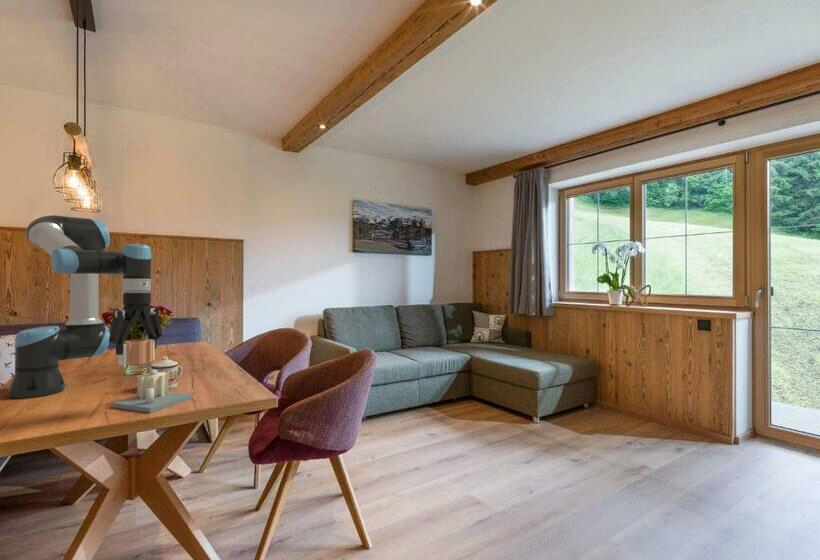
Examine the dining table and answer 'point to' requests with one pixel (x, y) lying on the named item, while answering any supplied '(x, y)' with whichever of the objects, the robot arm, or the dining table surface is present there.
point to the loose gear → (139, 351)
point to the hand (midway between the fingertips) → (136, 361)
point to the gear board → (153, 406)
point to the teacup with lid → (168, 370)
